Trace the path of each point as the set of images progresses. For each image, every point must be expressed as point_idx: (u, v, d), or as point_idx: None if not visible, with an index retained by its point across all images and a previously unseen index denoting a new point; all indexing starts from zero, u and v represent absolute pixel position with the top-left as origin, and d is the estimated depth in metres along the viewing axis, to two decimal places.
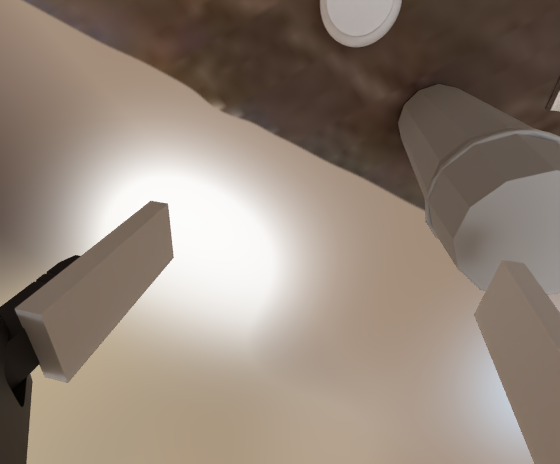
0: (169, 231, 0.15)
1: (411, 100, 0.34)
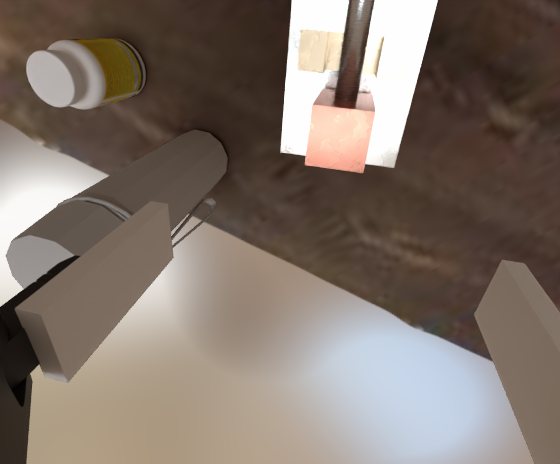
0: (169, 231, 0.15)
1: None
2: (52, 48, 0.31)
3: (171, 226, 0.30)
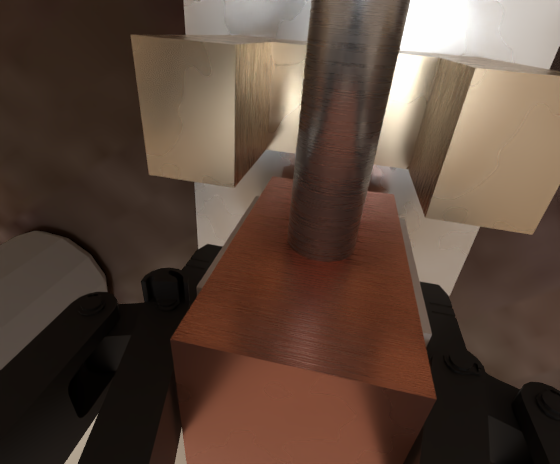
0: None
1: None
2: None
3: None
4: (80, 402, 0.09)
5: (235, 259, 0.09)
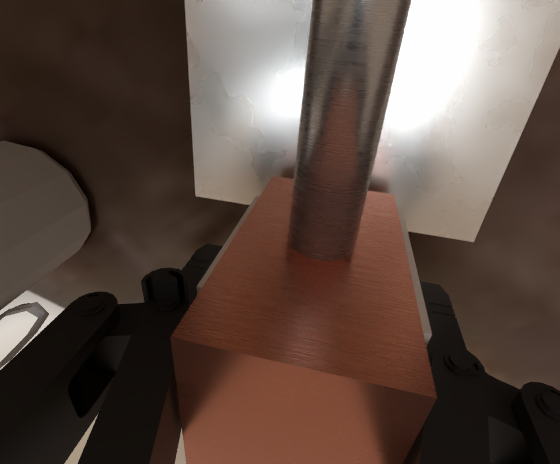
0: None
1: None
2: None
3: None
4: (80, 402, 0.09)
5: (235, 258, 0.09)
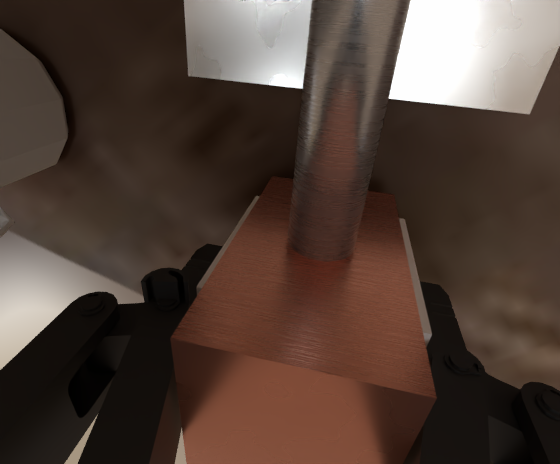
0: None
1: None
2: None
3: None
4: (80, 402, 0.09)
5: (235, 258, 0.09)
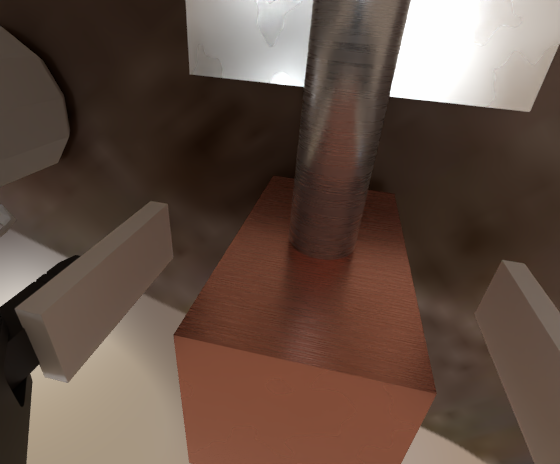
0: (169, 231, 0.15)
1: None
2: None
3: None
4: None
5: (237, 257, 0.09)
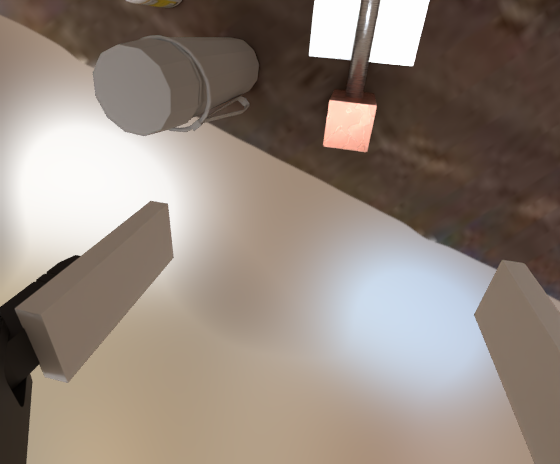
0: (169, 231, 0.15)
1: None
2: None
3: (219, 92, 0.34)
4: None
5: (334, 96, 0.39)
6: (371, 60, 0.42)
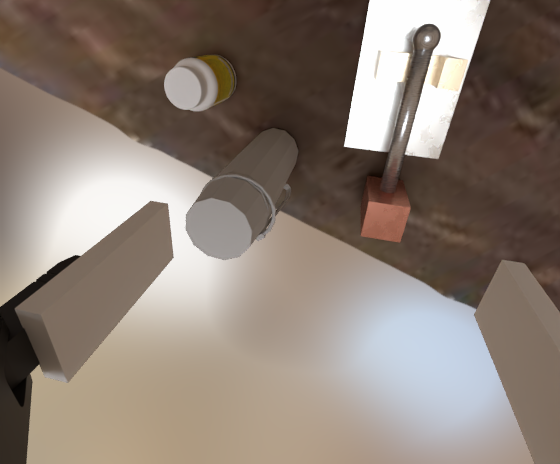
0: (169, 231, 0.15)
1: None
2: (181, 64, 0.40)
3: (275, 201, 0.39)
4: None
5: (371, 192, 0.44)
6: None
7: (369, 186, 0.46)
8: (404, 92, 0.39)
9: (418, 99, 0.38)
